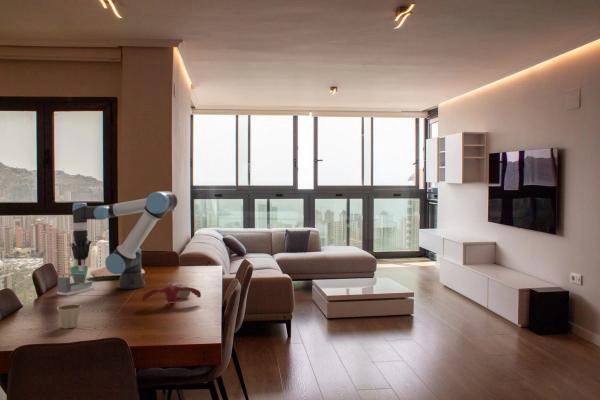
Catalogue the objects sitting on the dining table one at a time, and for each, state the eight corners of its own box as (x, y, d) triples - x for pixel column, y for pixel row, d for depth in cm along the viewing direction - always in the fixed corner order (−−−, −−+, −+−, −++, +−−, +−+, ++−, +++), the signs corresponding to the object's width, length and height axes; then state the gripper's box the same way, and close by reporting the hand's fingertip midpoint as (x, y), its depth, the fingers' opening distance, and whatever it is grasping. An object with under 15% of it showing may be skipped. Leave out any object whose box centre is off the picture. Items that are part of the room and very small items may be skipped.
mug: (85, 285, 304) (85, 268, 304) (68, 285, 303) (68, 268, 302) (92, 280, 318) (92, 264, 318) (76, 280, 317) (75, 264, 317)
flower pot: (62, 323, 223) (62, 304, 223) (84, 323, 224) (84, 303, 223) (54, 330, 214) (53, 310, 213) (77, 329, 214) (76, 309, 214)
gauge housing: (84, 287, 296) (83, 271, 296) (94, 289, 293) (94, 272, 292) (57, 294, 280) (56, 277, 280) (67, 295, 277) (67, 278, 276)
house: (91, 275, 336) (90, 263, 335) (143, 272, 347) (142, 260, 347) (89, 282, 314) (89, 269, 314) (145, 278, 326) (145, 265, 325)
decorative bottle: (191, 298, 270) (191, 285, 270) (177, 300, 266) (177, 287, 266) (175, 289, 292) (175, 277, 292) (162, 290, 288) (162, 279, 288)
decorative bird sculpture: (142, 315, 252) (141, 298, 242) (143, 299, 259) (142, 282, 248) (200, 311, 260) (201, 294, 250) (199, 295, 266) (200, 278, 256)
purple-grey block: (76, 287, 291) (76, 272, 290) (85, 288, 287) (85, 274, 287) (68, 289, 286) (68, 274, 286) (78, 290, 283) (78, 275, 282)
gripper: (85, 228, 296) (86, 268, 297) (65, 230, 284) (67, 272, 285) (94, 229, 292) (95, 269, 293) (75, 231, 281) (76, 273, 282)
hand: (81, 270), depth 289 cm, fingers closed
